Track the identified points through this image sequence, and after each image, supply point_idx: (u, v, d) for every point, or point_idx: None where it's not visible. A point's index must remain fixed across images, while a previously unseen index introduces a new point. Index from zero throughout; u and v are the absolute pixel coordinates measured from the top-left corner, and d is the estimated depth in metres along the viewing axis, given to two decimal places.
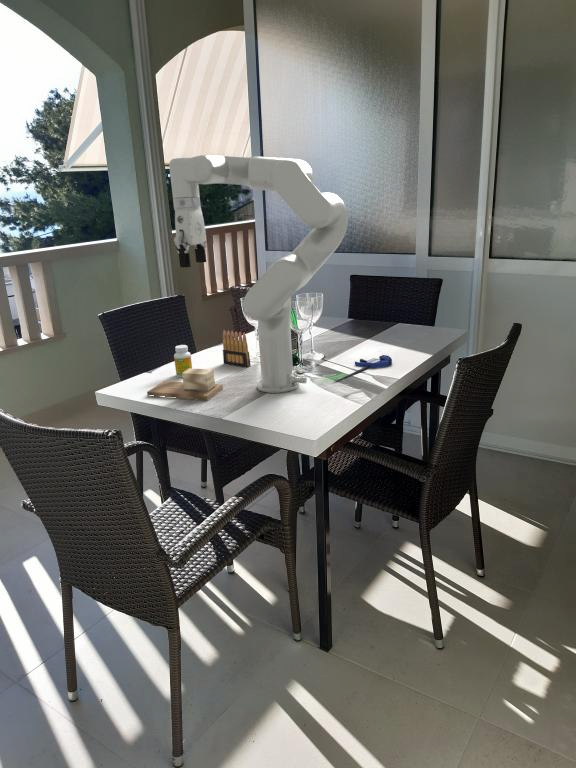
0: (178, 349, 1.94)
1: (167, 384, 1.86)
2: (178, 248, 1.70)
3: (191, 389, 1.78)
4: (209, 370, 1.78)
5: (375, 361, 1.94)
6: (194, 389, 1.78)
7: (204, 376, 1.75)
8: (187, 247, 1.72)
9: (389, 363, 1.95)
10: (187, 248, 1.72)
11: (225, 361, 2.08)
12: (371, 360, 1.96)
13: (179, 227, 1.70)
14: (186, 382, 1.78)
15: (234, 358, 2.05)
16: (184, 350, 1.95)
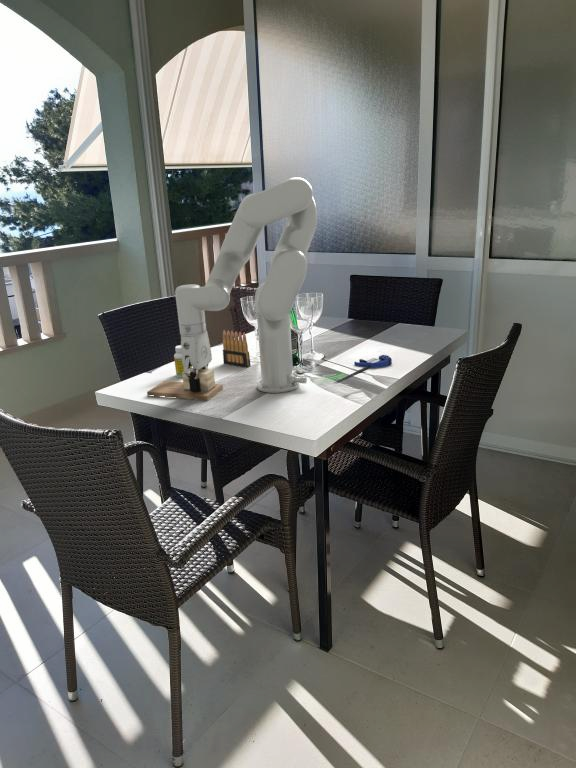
0: (178, 349, 1.94)
1: (167, 384, 1.86)
2: (189, 375, 1.74)
3: None
4: (209, 370, 1.78)
5: (375, 361, 1.94)
6: None
7: (205, 376, 1.75)
8: (196, 373, 1.75)
9: (389, 363, 1.95)
10: (196, 374, 1.75)
11: (225, 361, 2.08)
12: (371, 360, 1.96)
13: (185, 353, 1.71)
14: (186, 381, 1.78)
15: (234, 358, 2.05)
16: None
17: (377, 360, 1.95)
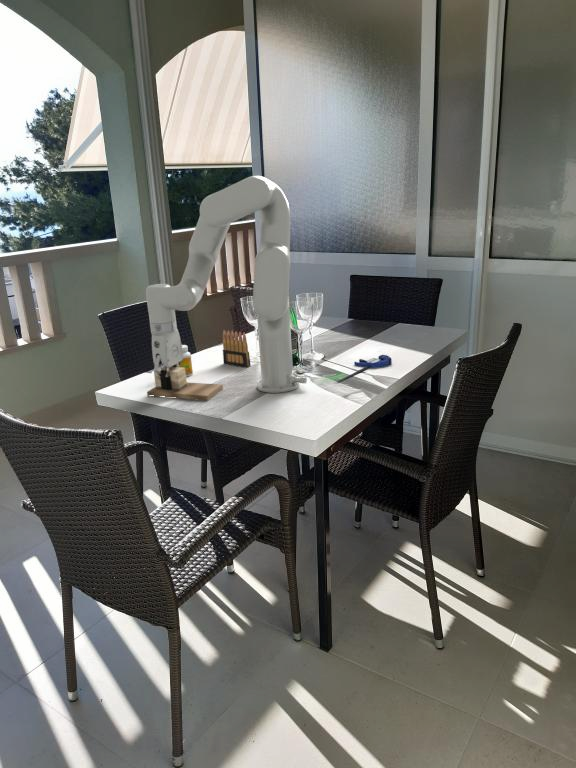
0: None
1: None
2: (160, 373, 1.77)
3: None
4: (180, 368, 1.81)
5: (375, 361, 1.94)
6: None
7: (175, 374, 1.78)
8: (167, 371, 1.78)
9: (389, 363, 1.95)
10: (167, 372, 1.78)
11: (225, 361, 2.08)
12: (371, 360, 1.96)
13: (156, 351, 1.75)
14: (157, 379, 1.81)
15: (234, 358, 2.05)
16: (183, 350, 1.95)
17: (377, 360, 1.95)
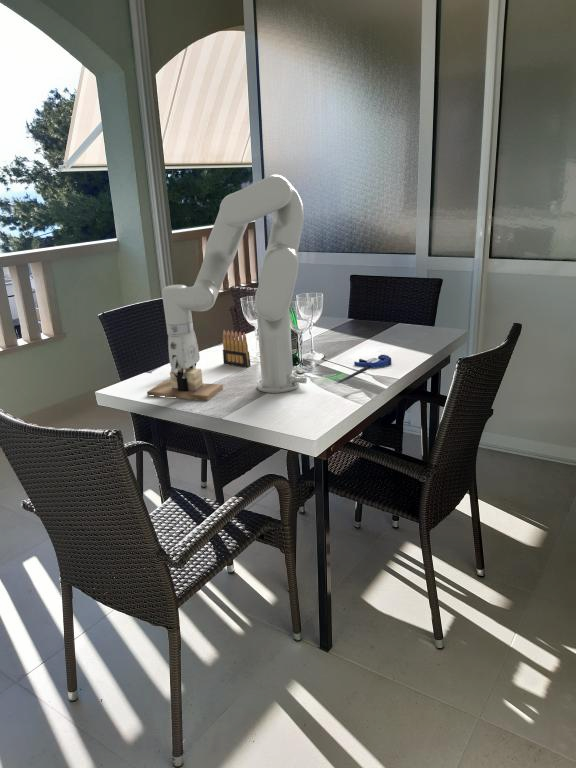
0: None
1: (167, 384, 1.86)
2: (176, 375, 1.75)
3: None
4: (197, 369, 1.79)
5: (375, 361, 1.95)
6: None
7: (192, 375, 1.76)
8: (184, 373, 1.76)
9: (389, 362, 1.95)
10: (184, 373, 1.76)
11: (225, 361, 2.08)
12: (371, 360, 1.96)
13: (172, 353, 1.73)
14: (173, 381, 1.79)
15: (234, 358, 2.05)
16: None
17: (377, 360, 1.95)
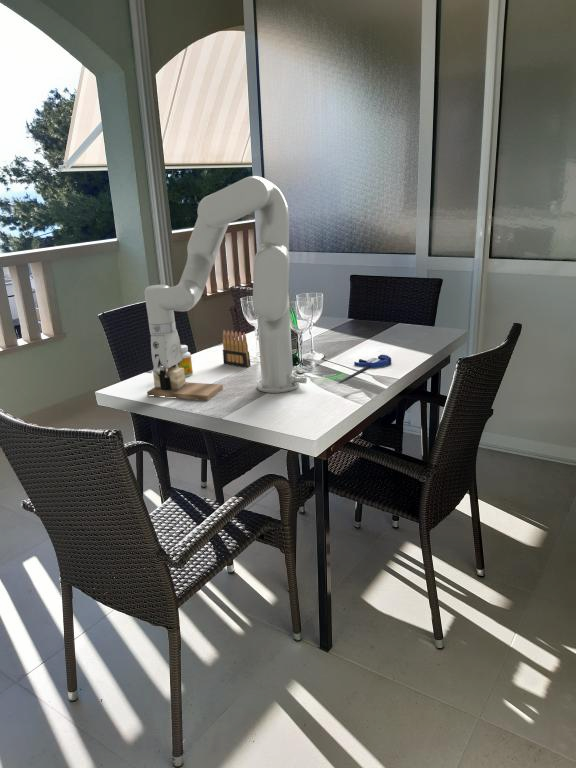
0: None
1: None
2: (159, 374, 1.77)
3: None
4: (179, 368, 1.81)
5: (375, 361, 1.95)
6: None
7: (174, 374, 1.78)
8: (166, 372, 1.78)
9: (389, 362, 1.96)
10: (167, 373, 1.78)
11: (225, 361, 2.08)
12: (371, 360, 1.96)
13: (155, 352, 1.75)
14: (156, 380, 1.81)
15: (234, 358, 2.05)
16: (184, 350, 1.95)
17: (377, 360, 1.95)
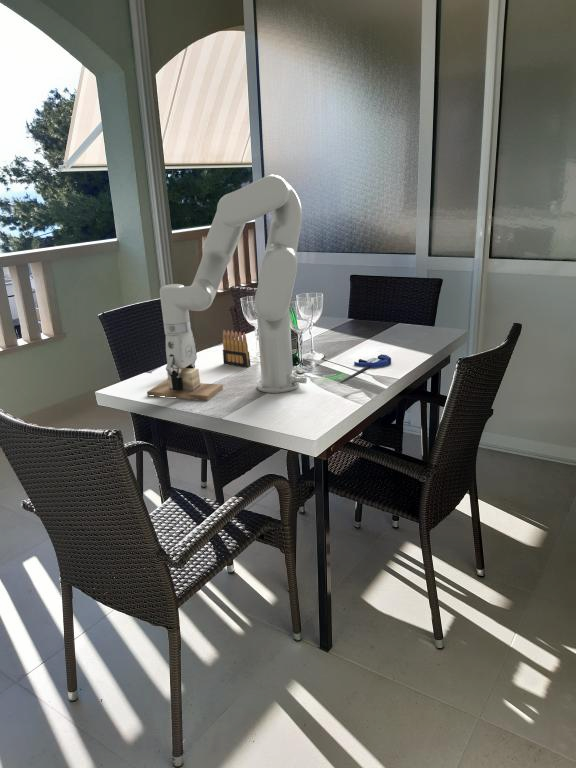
0: None
1: (167, 384, 1.86)
2: (171, 374, 1.74)
3: None
4: (194, 369, 1.80)
5: (375, 361, 1.95)
6: None
7: (189, 375, 1.77)
8: (179, 372, 1.75)
9: (389, 362, 1.96)
10: (179, 373, 1.75)
11: (225, 361, 2.08)
12: (371, 360, 1.96)
13: (170, 352, 1.73)
14: (171, 381, 1.80)
15: (234, 358, 2.05)
16: None
17: (377, 360, 1.95)
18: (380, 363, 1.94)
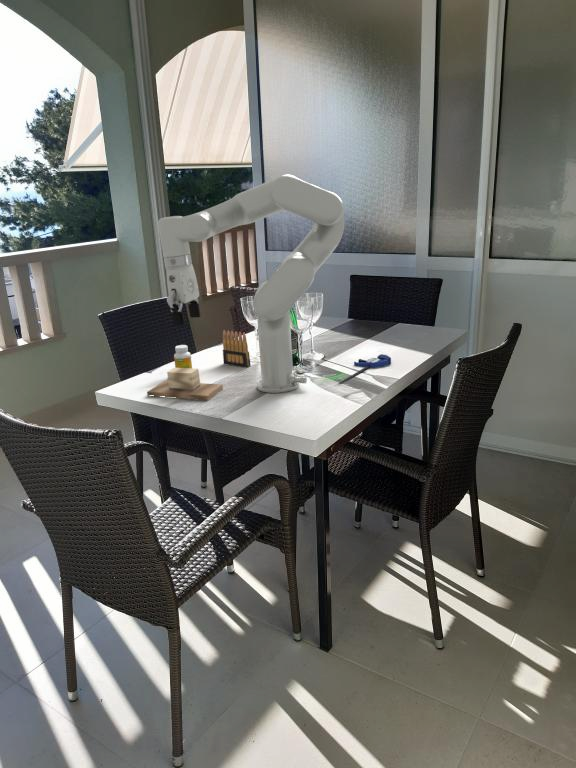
0: (178, 349, 1.94)
1: (167, 384, 1.86)
2: (171, 308, 1.68)
3: (176, 388, 1.80)
4: (194, 369, 1.80)
5: (375, 360, 1.95)
6: (179, 388, 1.79)
7: (189, 375, 1.77)
8: (180, 306, 1.70)
9: (389, 362, 1.96)
10: (180, 307, 1.70)
11: (225, 361, 2.08)
12: (371, 360, 1.96)
13: (171, 286, 1.68)
14: (171, 381, 1.80)
15: (234, 358, 2.05)
16: (183, 350, 1.95)
17: (377, 360, 1.95)
18: (380, 363, 1.94)
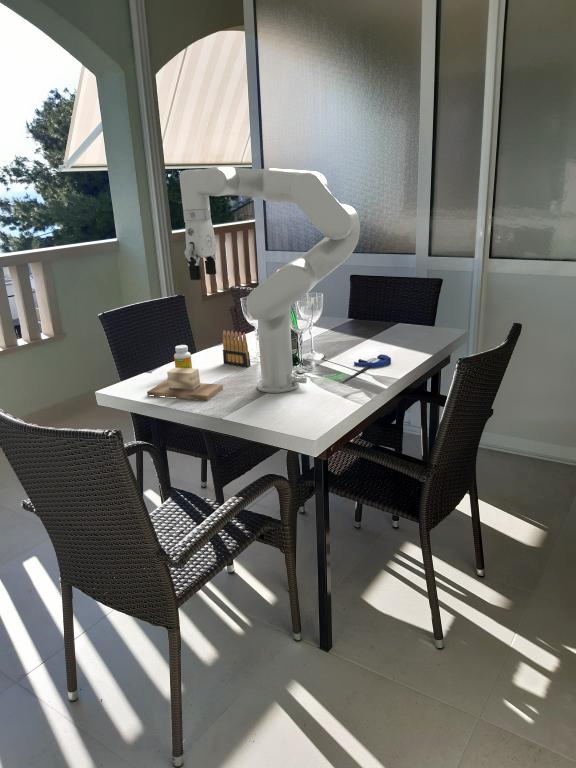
0: (178, 349, 1.94)
1: (167, 384, 1.86)
2: (188, 261, 1.68)
3: (176, 388, 1.80)
4: (194, 369, 1.80)
5: (375, 361, 1.95)
6: (179, 388, 1.79)
7: (189, 375, 1.77)
8: (198, 260, 1.70)
9: (389, 362, 1.96)
10: (198, 261, 1.70)
11: (225, 361, 2.08)
12: (371, 360, 1.96)
13: (190, 240, 1.69)
14: (171, 381, 1.80)
15: (234, 358, 2.05)
16: (184, 350, 1.95)
17: (377, 360, 1.95)
18: (380, 363, 1.94)
